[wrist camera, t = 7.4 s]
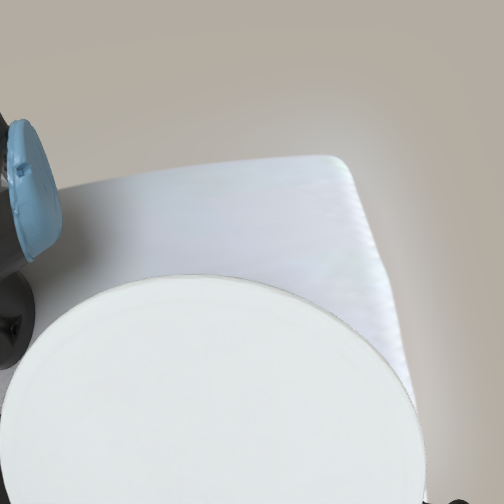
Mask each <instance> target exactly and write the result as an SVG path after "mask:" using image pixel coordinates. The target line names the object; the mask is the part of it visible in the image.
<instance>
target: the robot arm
mask: <svg viewBox="0 0 504 504" xmlns="http://www.w3.org/2000/svg"><path fill="white" fill-rule="evenodd" d="M62 224H63V220H62V211H61V205H60V200H59V196H58V192H57V188H56V185H55V181H54V178H53V175H52V172H51V169H50V166H49V163H48V160H47V157H46V154H45V152H44V149H43V146H42V144H41V142H40V139H39V137H38V135H37V133H36V131H35V129H34V128H33V127H32V126H31V124H30V122H29V121H27V120H26V119H21V120H19V121H17V120H15V121H13V122H12V123H11V125H10V126H8V125H7V123H6V122H5V120H4V119H3V117H2V115H1V113H0V370H3V369H7V368H9V367H11V366H12V365H14V364H15V363H16V362H17V361H18V360H19V359H20V358H21V356H22V355H23V354H24V352H25V350H26V348H27V346H28V344H29V341H30V338H31V335H32V331H33V326H34V315H35V309H34V300H33V295H32V291H31V288H30V286H29V284H28V282H27V280H26V279H25V277H24V276H23V275H22V274H21V273H20V272H19V271H17V270H18V269H19V268H21V267H23V266H24V265H26V264H27V263H31V262H33V261H34V259H35V257H36V256H38V255H39V254H40V253H42V252H43V251H45V250H46V249H48V248H49V247H51V246H52V245H53V244H54V243H55V242H56V241H57V240H58V239H59V237H60V234H61V231H62ZM0 420H1V415H0ZM0 504H11V503H10V500H9V497H8V494H7V491H6V488H5V484H4V479H3V475H2V470H1V464H0ZM422 504H429V503H425V502H424V501H423V502H422ZM449 504H469V503H467V502H466V501H464V500H459V499H458V500H454V501H452V502H450V503H449Z"/></svg>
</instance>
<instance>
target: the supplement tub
mask: <svg viewBox="0 0 504 504" xmlns="http://www.w3.org/2000/svg"><path fill="white" fill-rule="evenodd" d="M0 464H1V470H2V475H3V479H4V484H5V488H6V491H7V494H8V497H9V500H10V503H11V504H422V502H423V499H424V492H425V483H426V453H425V442H424V438H423V433H422V429H421V424H420V422H419V419H418V416H417V413H416V411H415V408H414V405H413V403H412V401H411V399H410V397H409V395H408V393H407V391H406V389H405V387H404V386H403V384H402V382H401V380H400V379H399V377H398V376H397V374H396V373H395V371H394V370H393V369H392V367H391V366H390V365H389V363H388V362H387V361H386V359H385V358H384V357H383V356H382V355H381V354H380V353H379V352H378V351H377V350H376V349H375V348H374V347H373V346H372V345H371V344H370V342H369V341H368V340H367V339H365V338H364V337H363V336H362V335H360V334H359V333H358V332H357V331H355V330H354V329H353V328H352V327H350V326H349V325H348V324H346V323H345V322H344V321H343V320H341V319H340V318H338V317H337V316H335V315H334V314H332V313H331V312H329V311H327V310H325V309H323V308H321V307H320V306H318V305H316V304H314V303H312V302H310V301H308V300H306V299H304V298H301V297H299V296H297V295H295V294H293V293H290V292H288V291H285V290H282V289H279V288H276V287H273V286H270V285H267V284H263V283H260V282H256V281H251V280H246V279H242V278H235V277H228V276H220V275H207V274H183V275H167V276H158V277H151V278H146V279H141V280H137V281H133V282H128V283H125V284H122V285H119V286H116V287H113V288H111V289H108V290H105V291H103V292H101V293H99V294H97V295H94V296H92V297H90V298H88V299H86V300H84V301H83V302H81V303H79V304H78V305H76V306H75V307H73V308H71V309H70V310H69V311H67V312H66V313H65V314H63V315H62V316H60V317H59V318H58V319H57V320H55V321H54V322H53V323H52V324H51V325H50V326H49V327H48V328H47V329H45V330H44V331H43V332H42V333H41V334H40V336H39V337H38V338H37V339H36V341H35V342H34V343H33V344H32V346H31V347H30V348H29V350H28V351H27V352H26V353H25V355H24V357H23V359H22V360H21V362H20V364H19V365H18V367H17V369H16V371H15V372H14V375H13V377H12V379H11V382H10V384H9V387H8V389H7V393H6V396H5V399H4V403H3V406H2V412H1V420H0Z"/></svg>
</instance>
